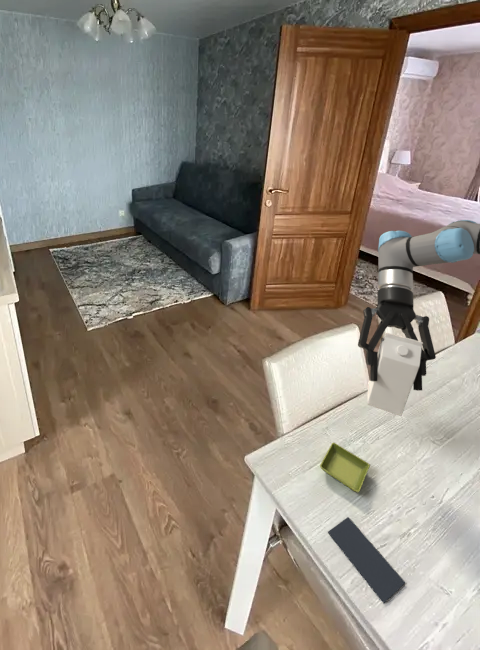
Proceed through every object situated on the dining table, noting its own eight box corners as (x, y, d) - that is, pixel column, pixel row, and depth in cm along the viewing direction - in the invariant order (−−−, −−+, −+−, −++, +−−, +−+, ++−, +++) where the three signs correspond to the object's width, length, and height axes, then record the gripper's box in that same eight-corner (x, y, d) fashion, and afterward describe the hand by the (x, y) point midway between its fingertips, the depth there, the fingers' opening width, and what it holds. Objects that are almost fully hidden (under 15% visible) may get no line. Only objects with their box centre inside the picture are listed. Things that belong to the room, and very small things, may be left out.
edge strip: (404, 583, 62) (405, 582, 62) (383, 603, 60) (384, 602, 60) (347, 517, 72) (348, 516, 72) (327, 532, 70) (327, 531, 70)
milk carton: (367, 385, 89) (385, 324, 82) (399, 396, 86) (421, 333, 79) (367, 405, 83) (386, 341, 76) (401, 417, 80) (424, 352, 73)
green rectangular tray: (356, 499, 76) (359, 492, 75) (317, 472, 81) (319, 466, 80) (368, 470, 82) (370, 464, 81) (331, 447, 87) (332, 441, 86)
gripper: (436, 301, 87) (441, 396, 79) (346, 288, 93) (341, 375, 85) (451, 293, 80) (458, 396, 72) (353, 279, 86) (349, 374, 78)
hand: (395, 385), depth 79 cm, fingers closed on milk carton, 8 cm apart
